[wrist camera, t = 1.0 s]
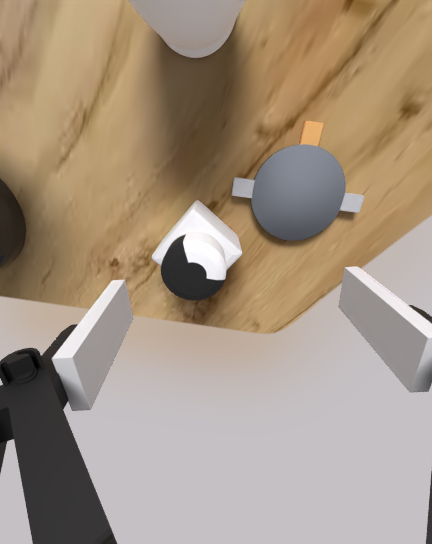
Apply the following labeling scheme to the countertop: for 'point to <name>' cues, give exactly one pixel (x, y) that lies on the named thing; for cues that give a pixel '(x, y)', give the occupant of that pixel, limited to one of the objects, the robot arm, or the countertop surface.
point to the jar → (190, 23)
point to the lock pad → (298, 189)
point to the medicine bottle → (197, 254)
